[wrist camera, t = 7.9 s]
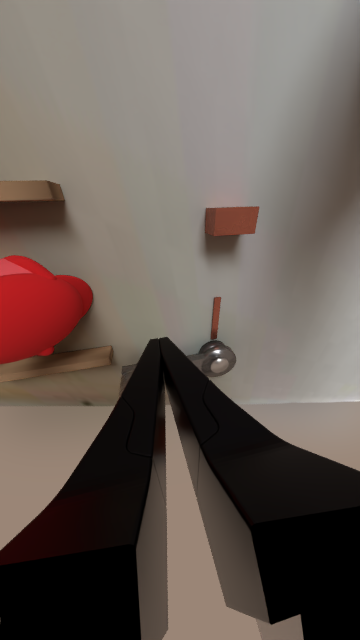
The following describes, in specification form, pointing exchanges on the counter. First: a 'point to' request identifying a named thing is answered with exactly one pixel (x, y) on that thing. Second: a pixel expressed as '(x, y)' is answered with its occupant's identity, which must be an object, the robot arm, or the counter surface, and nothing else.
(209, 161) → the counter surface
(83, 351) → the bay
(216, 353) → the crank
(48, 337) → the cap
